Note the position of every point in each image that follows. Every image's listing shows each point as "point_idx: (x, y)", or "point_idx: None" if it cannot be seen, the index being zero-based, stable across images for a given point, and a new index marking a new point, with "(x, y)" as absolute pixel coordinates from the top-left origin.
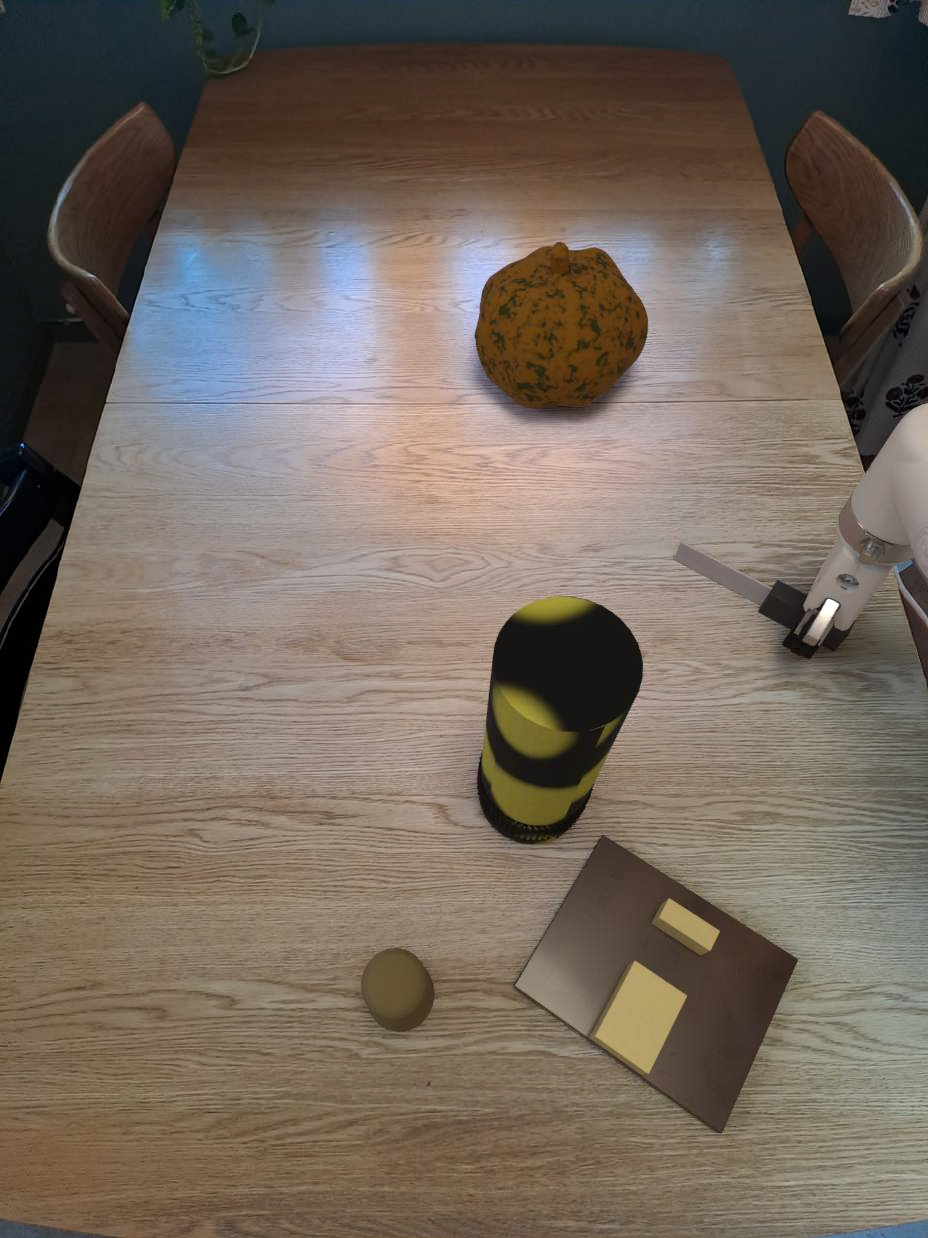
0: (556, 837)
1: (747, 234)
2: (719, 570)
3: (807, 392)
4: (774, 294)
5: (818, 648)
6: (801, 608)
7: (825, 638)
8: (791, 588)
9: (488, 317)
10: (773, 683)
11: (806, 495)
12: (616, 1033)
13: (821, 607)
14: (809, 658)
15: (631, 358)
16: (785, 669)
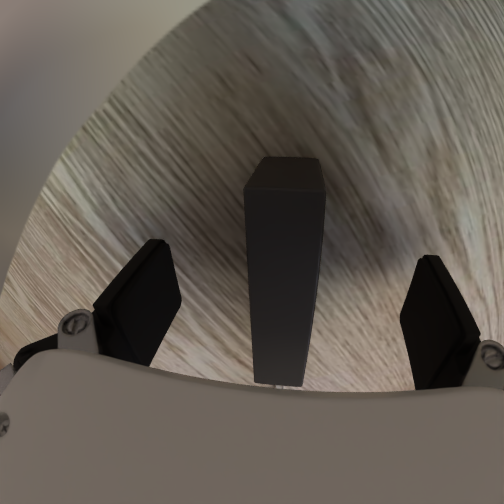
0: None
1: (4, 365)
2: None
3: (10, 324)
4: (3, 351)
5: (463, 299)
6: (303, 335)
7: (466, 335)
8: (258, 363)
9: None
10: (451, 254)
11: (65, 308)
12: None
13: (267, 296)
14: (438, 257)
15: None
16: (415, 244)
